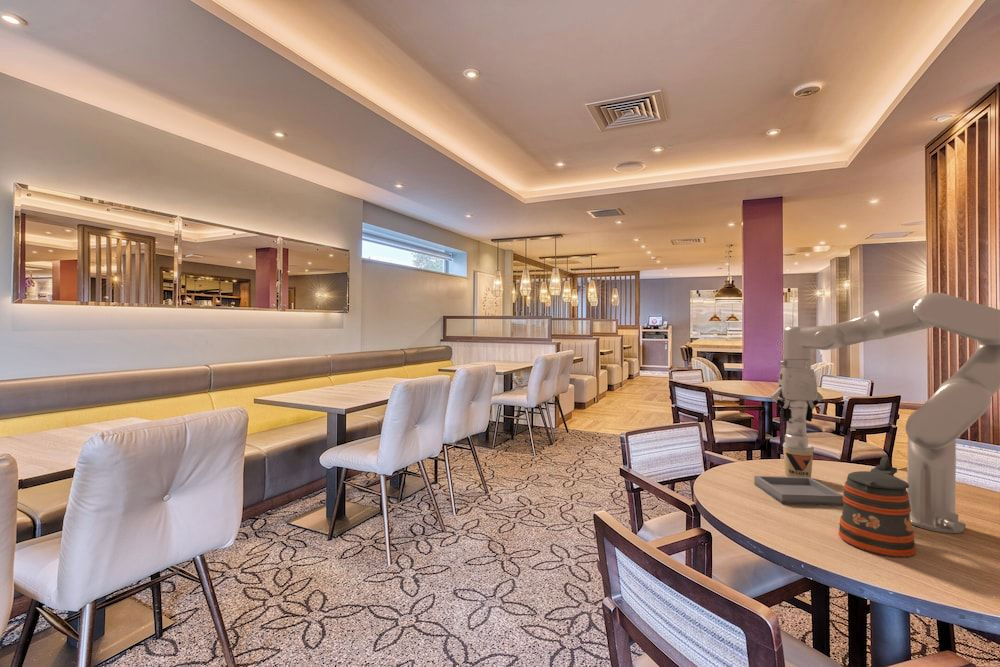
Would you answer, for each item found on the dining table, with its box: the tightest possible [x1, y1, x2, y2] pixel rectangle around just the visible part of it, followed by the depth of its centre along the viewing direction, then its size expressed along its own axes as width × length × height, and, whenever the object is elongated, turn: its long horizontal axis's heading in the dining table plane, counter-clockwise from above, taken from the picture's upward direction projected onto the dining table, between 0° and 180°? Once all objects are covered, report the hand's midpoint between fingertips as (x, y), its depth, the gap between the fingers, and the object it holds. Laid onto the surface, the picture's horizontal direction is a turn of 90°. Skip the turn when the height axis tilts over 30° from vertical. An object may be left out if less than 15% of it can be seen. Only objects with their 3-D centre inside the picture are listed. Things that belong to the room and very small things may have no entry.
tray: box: [753, 475, 844, 507], centre depth 145 cm, size 18×18×3 cm
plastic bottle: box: [784, 400, 809, 450], centre depth 145 cm, size 6×7×20 cm
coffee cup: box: [782, 441, 815, 478], centre depth 162 cm, size 9×9×12 cm
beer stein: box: [838, 455, 916, 558], centre depth 113 cm, size 19×15×20 cm
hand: (796, 419), depth 145 cm, fingers closed on plastic bottle, 6 cm apart
